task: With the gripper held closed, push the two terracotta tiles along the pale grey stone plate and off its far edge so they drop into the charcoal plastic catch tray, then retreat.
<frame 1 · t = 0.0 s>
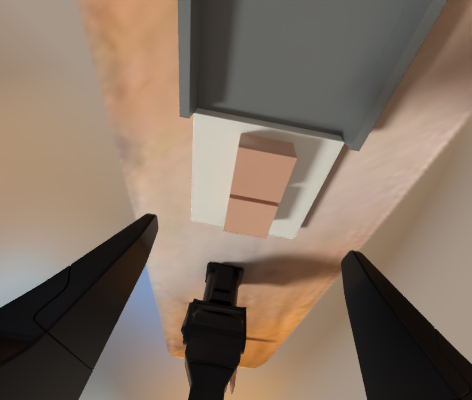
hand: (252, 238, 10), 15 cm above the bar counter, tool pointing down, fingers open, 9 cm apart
plate: (254, 178, 25), on the bar counter
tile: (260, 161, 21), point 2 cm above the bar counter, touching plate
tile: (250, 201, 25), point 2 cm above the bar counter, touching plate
catch tray: (288, 45, 17), on the bar counter
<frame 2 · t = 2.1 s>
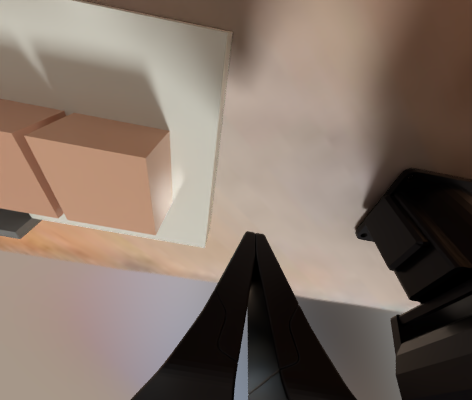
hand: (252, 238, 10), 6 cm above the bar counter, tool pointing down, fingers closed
plate: (114, 142, 14), on the bar counter
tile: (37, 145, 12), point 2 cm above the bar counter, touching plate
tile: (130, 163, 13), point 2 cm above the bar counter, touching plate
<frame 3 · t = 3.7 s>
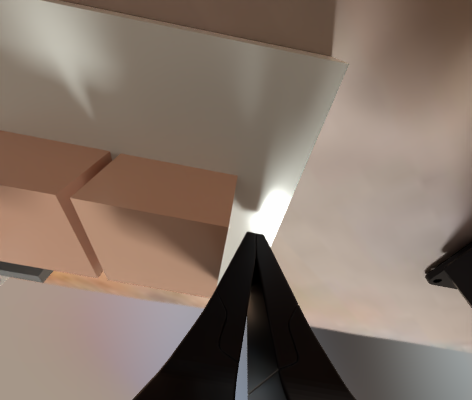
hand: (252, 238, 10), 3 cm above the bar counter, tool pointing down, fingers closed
plate: (157, 178, 12), on the bar counter
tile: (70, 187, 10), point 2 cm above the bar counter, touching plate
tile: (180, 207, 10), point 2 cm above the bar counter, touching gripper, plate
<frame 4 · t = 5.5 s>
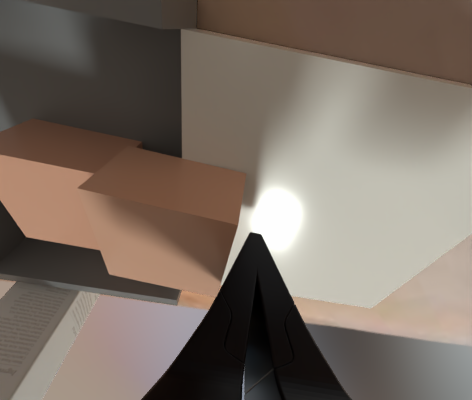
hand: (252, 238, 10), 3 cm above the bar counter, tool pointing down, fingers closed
plate: (310, 205, 12), on the bar counter
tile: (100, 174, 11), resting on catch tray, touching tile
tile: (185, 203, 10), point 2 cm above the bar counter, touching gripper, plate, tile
catch tray: (85, 165, 12), on the bar counter
skincare box: (82, 267, 19), on the bar counter
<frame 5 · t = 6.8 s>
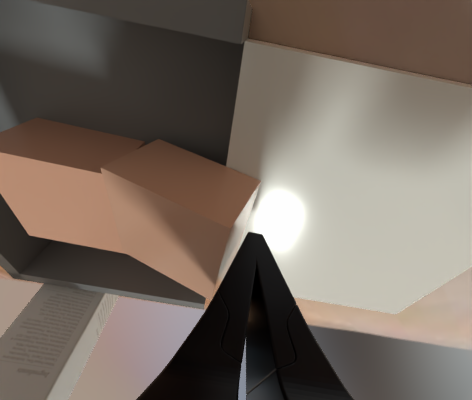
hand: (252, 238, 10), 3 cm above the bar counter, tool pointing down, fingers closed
plate: (341, 211, 12), on the bar counter
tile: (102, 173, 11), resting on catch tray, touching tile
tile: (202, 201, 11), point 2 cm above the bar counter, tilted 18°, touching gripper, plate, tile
catch tray: (119, 170, 12), on the bar counter
skincare box: (103, 269, 20), on the bar counter
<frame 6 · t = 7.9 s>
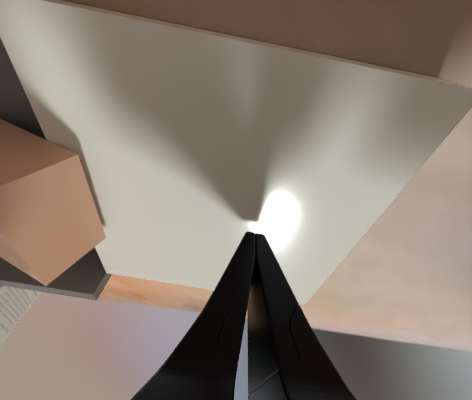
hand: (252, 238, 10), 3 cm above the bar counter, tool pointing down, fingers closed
plate: (222, 194, 12), on the bar counter
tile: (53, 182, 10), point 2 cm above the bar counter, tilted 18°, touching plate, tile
skincare box: (21, 262, 19), on the bar counter
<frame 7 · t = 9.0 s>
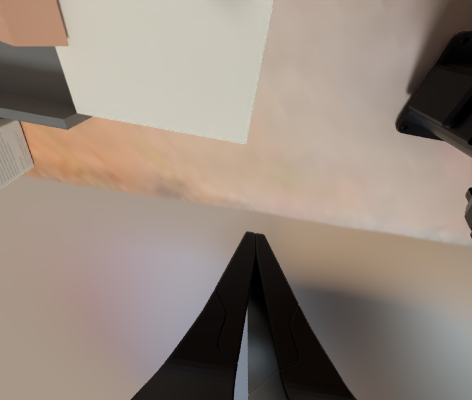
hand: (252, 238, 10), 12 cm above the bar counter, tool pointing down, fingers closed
plate: (165, 18, 14), on the bar counter
skincare box: (11, 137, 22), on the bar counter
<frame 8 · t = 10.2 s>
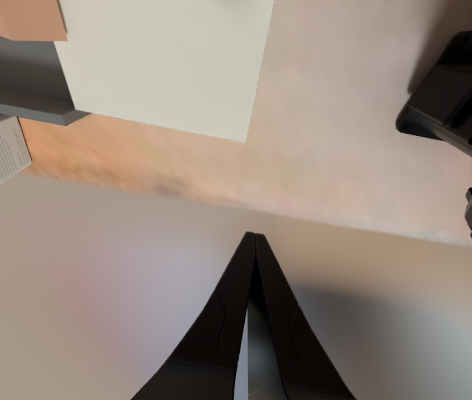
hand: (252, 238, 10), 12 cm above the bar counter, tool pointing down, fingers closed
plate: (165, 14, 14), on the bar counter
skincare box: (9, 134, 22), on the bar counter
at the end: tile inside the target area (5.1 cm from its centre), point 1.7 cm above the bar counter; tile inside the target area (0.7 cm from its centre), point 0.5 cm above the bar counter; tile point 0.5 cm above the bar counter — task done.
